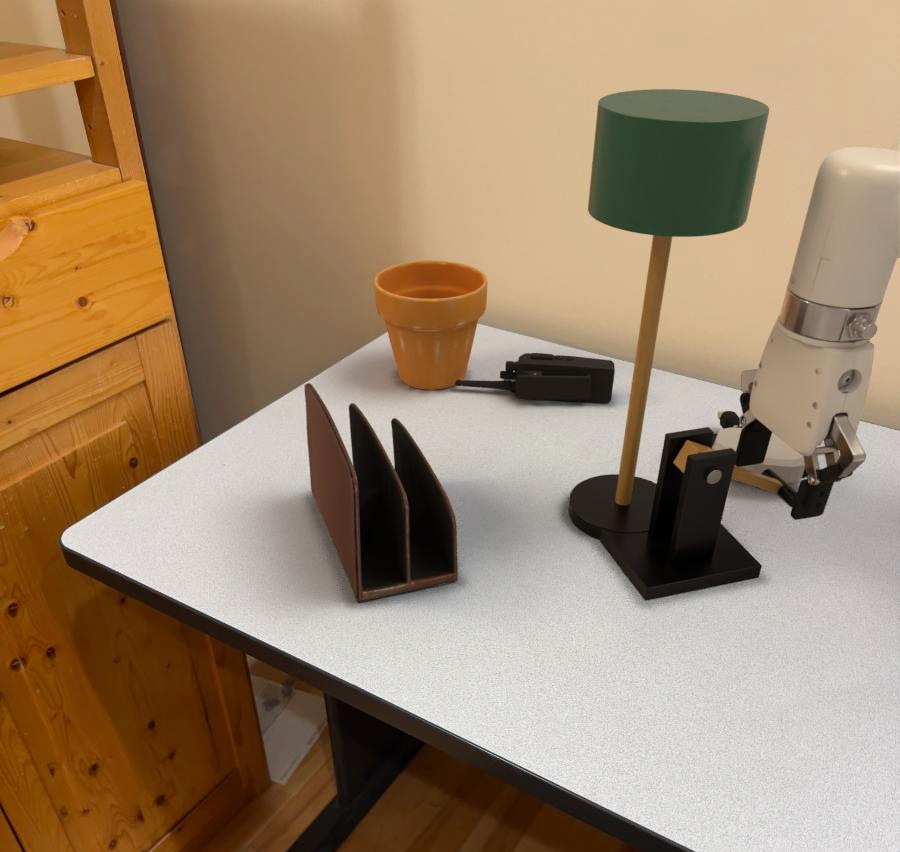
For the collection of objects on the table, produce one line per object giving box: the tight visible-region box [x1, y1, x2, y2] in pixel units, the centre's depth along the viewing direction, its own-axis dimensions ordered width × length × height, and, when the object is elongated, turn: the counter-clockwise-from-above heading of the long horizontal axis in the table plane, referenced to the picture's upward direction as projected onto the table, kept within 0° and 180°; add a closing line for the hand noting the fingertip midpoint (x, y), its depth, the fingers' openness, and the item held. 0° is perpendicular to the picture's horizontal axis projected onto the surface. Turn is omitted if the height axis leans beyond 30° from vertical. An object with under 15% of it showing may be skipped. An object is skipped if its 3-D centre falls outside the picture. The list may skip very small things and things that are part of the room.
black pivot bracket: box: [599, 426, 763, 602], centre depth 82 cm, size 12×10×13 cm
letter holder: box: [304, 382, 459, 604], centre depth 85 cm, size 10×20×14 cm, turn 19°
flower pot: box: [373, 259, 488, 391], centre depth 114 cm, size 14×14×13 cm
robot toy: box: [710, 410, 807, 485], centre depth 99 cm, size 12×4×15 cm
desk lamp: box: [567, 88, 770, 541], centre depth 80 cm, size 13×13×38 cm
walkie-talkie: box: [455, 352, 616, 403], centre depth 112 cm, size 6×6×20 cm
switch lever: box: [673, 440, 798, 508], centre depth 82 cm, size 13×5×2 cm, turn 108°
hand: (775, 489), depth 85 cm, fingers open, 9 cm apart
